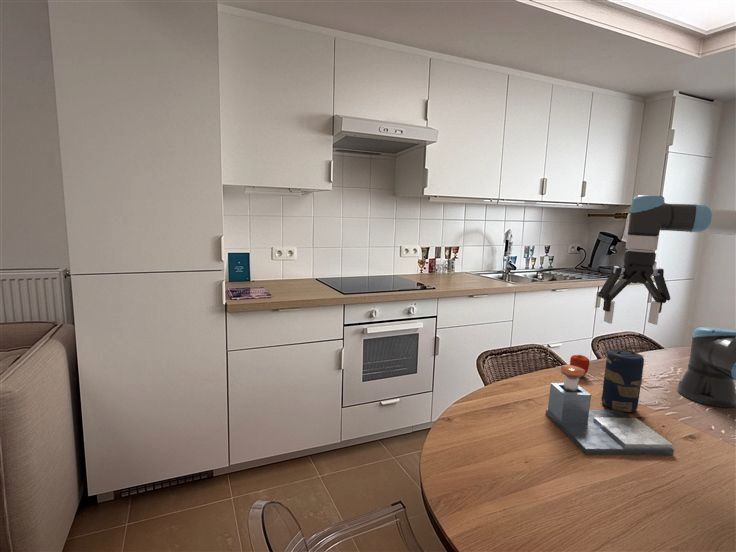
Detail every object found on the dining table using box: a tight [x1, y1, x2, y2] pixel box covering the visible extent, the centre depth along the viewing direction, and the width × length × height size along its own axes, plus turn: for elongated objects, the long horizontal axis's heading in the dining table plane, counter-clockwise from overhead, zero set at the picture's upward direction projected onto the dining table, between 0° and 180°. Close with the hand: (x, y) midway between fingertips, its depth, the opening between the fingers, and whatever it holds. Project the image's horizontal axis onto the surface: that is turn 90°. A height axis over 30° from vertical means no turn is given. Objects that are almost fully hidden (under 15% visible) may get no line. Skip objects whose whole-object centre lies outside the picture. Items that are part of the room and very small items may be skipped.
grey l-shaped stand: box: [545, 382, 675, 456], centre depth 109 cm, size 22×20×10 cm
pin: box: [560, 364, 586, 392], centre depth 113 cm, size 6×6×9 cm
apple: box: [569, 354, 590, 376], centre depth 148 cm, size 6×6×8 cm
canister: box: [600, 348, 645, 413], centre depth 123 cm, size 10×10×18 cm
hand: (630, 323), depth 121 cm, fingers open, 13 cm apart
